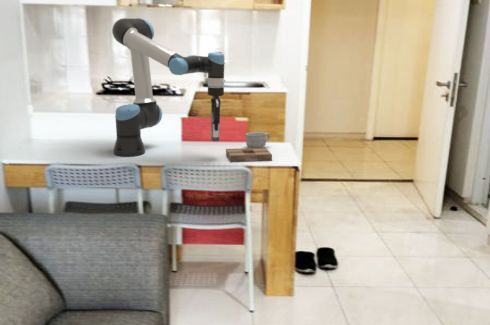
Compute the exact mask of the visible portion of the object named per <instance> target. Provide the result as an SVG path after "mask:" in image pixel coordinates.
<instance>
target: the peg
mask: <svg viewBox="0 0 490 325" xmlns="http://www.w3.org/2000/svg"><path fill="white" fill-rule="evenodd" d="M210 114H211V116H210V124H211V125H210V141H211V142H219V141H220V136H219V137H213V124H212V123H213V122H214V115H213V113H210ZM220 123H221V122H220ZM220 123H219V131H220V129H221V128H220V127H221V126H220V125H221V124H220Z"/></svg>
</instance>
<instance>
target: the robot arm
mask: <svg viewBox="0 0 490 325" xmlns="http://www.w3.org/2000/svg"><path fill="white" fill-rule="evenodd" d="M111 30H112V31H111V32H112V36H113V38H114V40H115V41H116V42H118V43H119V44H121V45H122V46H124V47H126V48H127V50H128V49H129V51H130V57H131V67H132V77H133V85H134V94H135V99H134V100H133V101H132V103H130V104H129V103H127V104H123V105H120V106H118V107H117V108H116V109H115V116H114V119H115V131H116V140H115V143H114V146H113V154H114V155H115V156H119V157H135V156H137V157H138V156H140V155H144V154H145V153H146V149H145V148H146V147H145V145H144V142H143V139H142V137H141V136H142V135H141V134H142V133H141V130H144V129H149V128H153V127H154V126H157V125H159V123H160V122H161V120H162V117H163V110H162V108H161V107H160V105H159V104H157V99H155V98H154V95H153V86H152V75H151V67H150V59H152V60H154V61H156V62H158V63H159V64H161V65H163V66H165V67H167V68H168V70H169V71H170V73H171V74H172V75H175V76H182V75H187V74H188V75H189V74H196V73H197V74H198V73H202V74H203V73H204V74H207V86H208V87H207V95H208V96H211V97H212V98H210V102H211V105H210V107H211V113H213V115H214V122H213V123H212V124H213V137H219V138H220V130H219V123H221V122H220V120H221V118H220V116H221V99H220V97H222V96H224V95H225V87H224V86H225V82H226V79H225V64H226V63H225V54H224V53H222V52H209V53H207V56H201V55H197V54H196V55H195V54H194V55H188V56H183V55H180V54H179V53H178V52H175V51H173V50H172V49H170V48H168V47H166V46H164V45H162V44H160V43H159V42H157V41H155V40H153V38H154V37H155V30H154V26H153V25H152V23H151V22H149V20H147V19H144V18H138V17H136V18H127V17H126V18H120V19H118V20H116V21H115V22H114V24H113V26H112V29H111ZM211 113H210V114H211Z"/></svg>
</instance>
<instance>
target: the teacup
mask: <svg viewBox="0 0 490 325" xmlns="http://www.w3.org/2000/svg"><path fill="white" fill-rule="evenodd" d="M270 138H271V134H270V133H269V132H262V131H261V132H260V131H257V132H256V131H253V132H251V131H250V132H247V133H245V145H246V146H247V147H248V148H265V146H266V145H267V144H266V143H267V142H268V141H270Z"/></svg>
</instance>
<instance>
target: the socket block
mask: <svg viewBox="0 0 490 325" xmlns="http://www.w3.org/2000/svg"><path fill="white" fill-rule="evenodd" d="M226 155H227V156H226ZM225 156H226V157H227V159H228V160H229V162H230V163H241V162H242V163H243V162H244V163H245V162H246V163H247V162H269V161H270V162H272V161H273V154H272V153H271V152H270V150H269V149H267V148H266V147H263V148H249V147H248V148H245V147H244V148H225Z"/></svg>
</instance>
